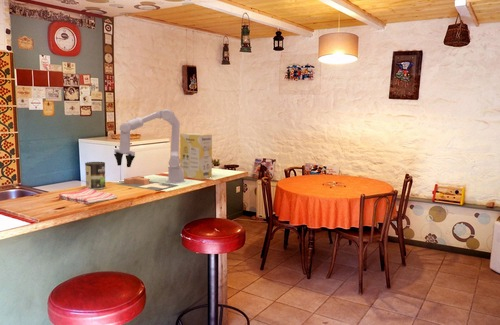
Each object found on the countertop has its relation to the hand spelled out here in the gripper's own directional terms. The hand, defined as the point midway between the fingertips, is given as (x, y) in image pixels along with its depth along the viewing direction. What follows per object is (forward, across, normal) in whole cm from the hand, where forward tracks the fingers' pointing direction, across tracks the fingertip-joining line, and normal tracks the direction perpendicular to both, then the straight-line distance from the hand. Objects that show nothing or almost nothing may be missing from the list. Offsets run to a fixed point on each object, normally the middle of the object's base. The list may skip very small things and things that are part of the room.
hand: (124, 166), depth 245 cm
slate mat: (+9, +17, +2) cm, 19 cm away
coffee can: (+11, 0, -20) cm, 23 cm away
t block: (+9, +11, +2) cm, 14 cm away
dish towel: (+11, +16, -39) cm, 44 cm away
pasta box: (+8, +22, +42) cm, 48 cm away
